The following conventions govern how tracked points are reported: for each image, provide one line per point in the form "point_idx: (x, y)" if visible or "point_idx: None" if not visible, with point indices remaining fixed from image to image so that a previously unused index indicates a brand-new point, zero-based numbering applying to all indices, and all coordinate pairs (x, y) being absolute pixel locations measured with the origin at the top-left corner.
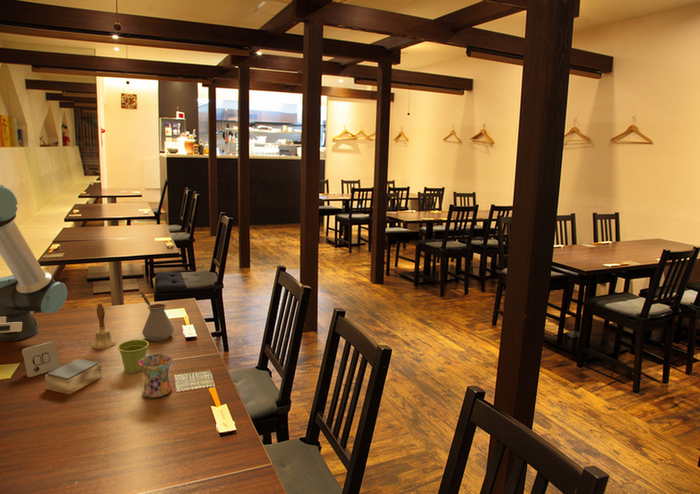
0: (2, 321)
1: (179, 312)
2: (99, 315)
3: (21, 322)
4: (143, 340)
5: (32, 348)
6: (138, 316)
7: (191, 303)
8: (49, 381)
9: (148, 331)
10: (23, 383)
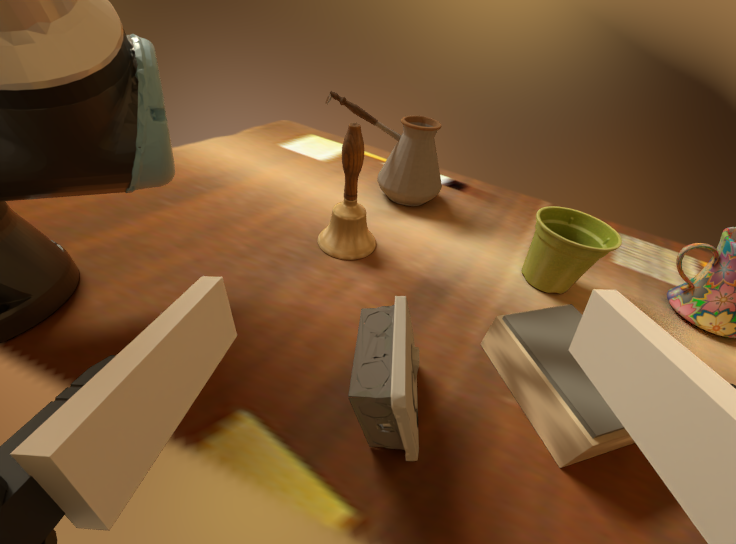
0: (219, 325)
1: (324, 143)
2: (359, 164)
3: (619, 293)
4: (553, 207)
5: (406, 366)
6: (269, 162)
7: (306, 126)
8: (595, 449)
9: (421, 186)
10: (451, 502)
